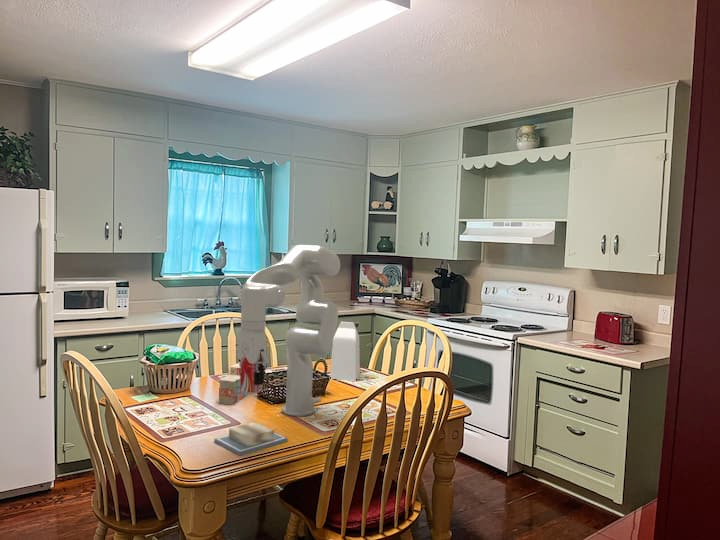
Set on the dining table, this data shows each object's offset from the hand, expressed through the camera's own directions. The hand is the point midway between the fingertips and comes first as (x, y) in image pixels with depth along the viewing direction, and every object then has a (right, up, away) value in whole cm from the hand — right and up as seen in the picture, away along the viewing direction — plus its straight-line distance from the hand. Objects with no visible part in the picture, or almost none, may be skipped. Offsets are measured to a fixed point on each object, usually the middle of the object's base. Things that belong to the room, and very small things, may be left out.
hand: (251, 381), depth 176 cm
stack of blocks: (-15, -16, +48) cm, 53 cm away
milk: (+27, -15, +84) cm, 90 cm away
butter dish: (0, -19, +1) cm, 19 cm away
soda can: (0, -3, 0) cm, 3 cm away
